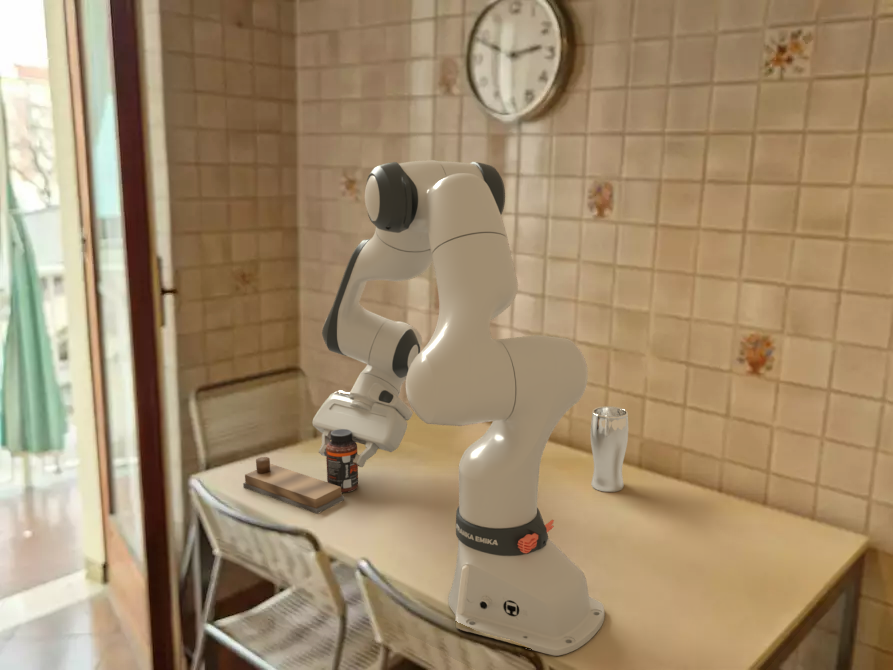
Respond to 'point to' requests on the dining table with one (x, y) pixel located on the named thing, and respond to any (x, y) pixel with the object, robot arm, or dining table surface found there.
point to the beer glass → (608, 447)
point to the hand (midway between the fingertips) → (339, 459)
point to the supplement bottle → (342, 460)
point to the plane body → (292, 487)
